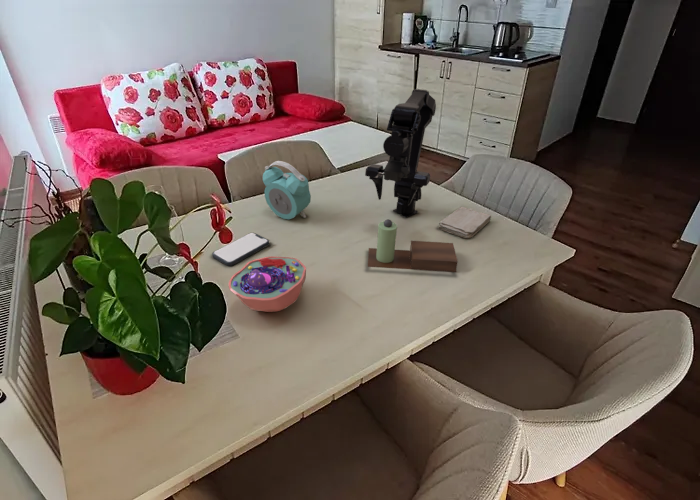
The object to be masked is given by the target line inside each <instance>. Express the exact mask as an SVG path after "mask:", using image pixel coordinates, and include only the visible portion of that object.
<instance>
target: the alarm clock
mask: <svg viewBox="0 0 700 500" xmlns="http://www.w3.org/2000/svg"><path fill="white" fill-rule="evenodd" d="M275 165H276V166H275ZM277 166H279V167H283V168H285V169H286V170H289V171H290V172H284V171H283V170H282V169H281V168H279V167H277ZM263 170H264V172H263V173H262V182H263V184H264V186H265V188H264V198H265V202H266V205H268V208H270V210H271V211H272V212H273V213H274V214H275V216H277V217H279V218H281V219H282V220H291V219H294V218H295V217H296V216H298V215H299V216H301V218H304V219H305V218H307V215H306V213H305V212H304V210H305V209H306V208H308V207H309V205H310V203H311V198H312V195H311V191H310V184H309V180H308V178H307V177H306V176H305V175H304V174H302V173H300V172H299V171H298V169H296V167H294V166H293V165H292V164H291V163H288V162H286V161H282V160H276V161H274V162H272V163H271V164H269V165H266V166H264V169H263Z"/></svg>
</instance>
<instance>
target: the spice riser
mask: <svg viewBox="0 0 700 500" xmlns="http://www.w3.org/2000/svg"><path fill="white" fill-rule="evenodd" d="M376 253H377V247H376V248H375V247H374V248H373V247H368V254H367V268H381V269H396V270H400V269H401V270H413V271H414V270H415V271H432V272H448V273H457V268H458V263H459V261H458V258H457V253H456V249H455V246H454V243H453V242H444V241H443V242H442V241H441V242H439V241H426V240H425V241H424V240H410V246H409V250H408V249H395V252H394V260H393V261H392V262H389V263H383V262H380V261H378V260H377V259H376Z"/></svg>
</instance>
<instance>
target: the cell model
mask: <svg viewBox="0 0 700 500" xmlns="http://www.w3.org/2000/svg"><path fill="white" fill-rule="evenodd" d="M306 279H307V267H306V265H305V264H304V263H303V262H302V261H301V260H300V259H298V258H295V257H291V256H290V257H288V256H265V257H260V258H255V259H253V260H252V259H251V260H250V261H248V262H246V263H245V265H244V266H243V267H242V268H241V269H239V270H238V271H237V272H235V273H234V274H233V275H232V276H231V277H230V279H229V281H228V289H229V291H230V292H232V294H234V295H235V296H236V297H237V299H239V300H240V301H241V303H242V304H243V305H244V306H246V307H247V308H248V309H249V310H251V311H254V312H255V311H257V312H258V311H259V312H266V313H267V312H268V313H276V312H280V311H283V310H285V309H286V308H288V307H289V306H291V305H292V304H294V303H295V302H296V301H297V300H298V299H299V297H300V295H301V292H302V288H303V286H304V285H305V282H306Z"/></svg>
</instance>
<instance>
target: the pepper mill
mask: <svg viewBox="0 0 700 500" xmlns="http://www.w3.org/2000/svg"><path fill="white" fill-rule="evenodd" d="M397 230H398V225H397V224H396V222H394V221H392V220H391V219H390V218H389V219H384V220H383V221H380V222H379V223H378V228H377V239H376V249H377V253H376V259H377V260H378V261H380V262H383V263H389V262H392V261H393V260H394V252H395V250H396V240H397V232H398V231H397Z"/></svg>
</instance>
